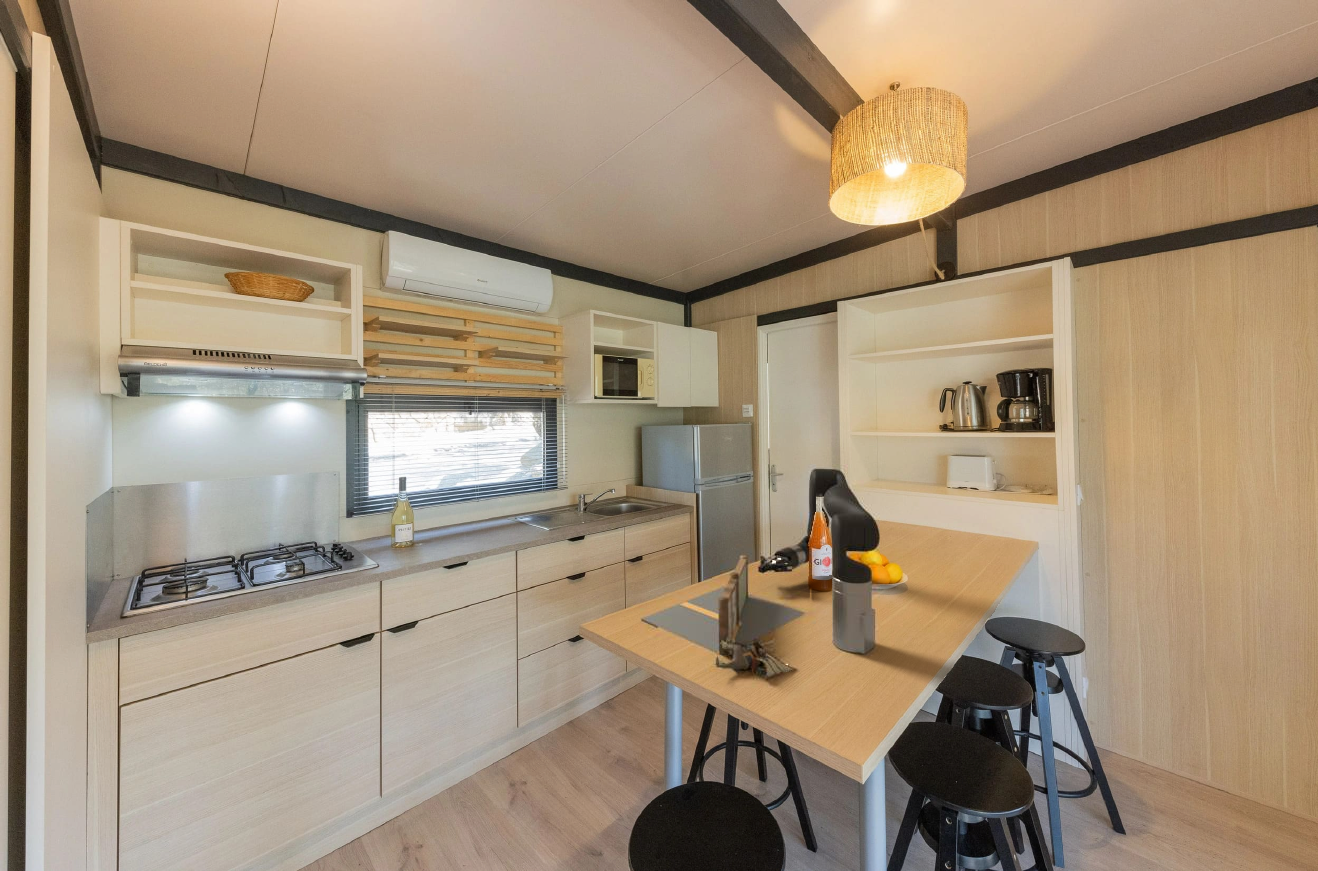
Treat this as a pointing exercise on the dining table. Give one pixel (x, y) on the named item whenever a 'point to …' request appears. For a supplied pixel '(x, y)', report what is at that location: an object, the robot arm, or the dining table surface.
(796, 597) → the dining table surface
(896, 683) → the dining table surface
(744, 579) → the fence gate
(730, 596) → the post
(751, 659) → the figurine
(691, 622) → the card
